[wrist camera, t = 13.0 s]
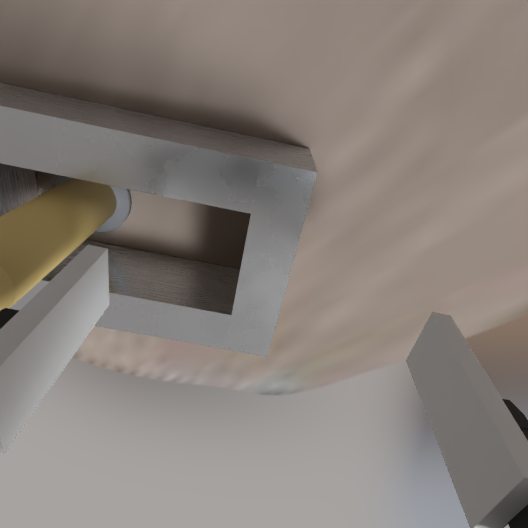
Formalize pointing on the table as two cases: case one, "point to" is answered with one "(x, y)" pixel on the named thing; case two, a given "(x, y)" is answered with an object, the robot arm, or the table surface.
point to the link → (174, 186)
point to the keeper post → (54, 230)
